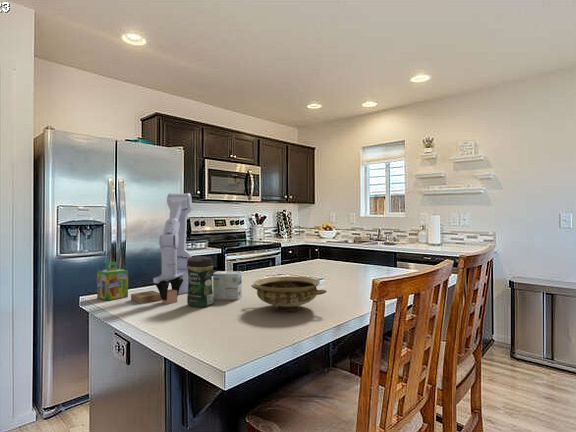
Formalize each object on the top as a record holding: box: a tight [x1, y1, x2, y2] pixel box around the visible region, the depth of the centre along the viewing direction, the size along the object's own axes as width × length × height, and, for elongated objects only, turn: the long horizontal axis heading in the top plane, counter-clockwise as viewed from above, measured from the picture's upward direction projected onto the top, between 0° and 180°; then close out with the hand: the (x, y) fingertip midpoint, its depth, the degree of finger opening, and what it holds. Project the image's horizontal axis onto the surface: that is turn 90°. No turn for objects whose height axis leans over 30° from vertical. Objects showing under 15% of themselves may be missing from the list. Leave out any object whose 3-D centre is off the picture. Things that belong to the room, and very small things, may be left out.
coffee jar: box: [186, 255, 214, 308], centre depth 139 cm, size 10×8×19 cm
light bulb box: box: [212, 270, 243, 301], centre depth 150 cm, size 11×7×11 cm, turn 84°
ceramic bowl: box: [251, 276, 327, 312], centre depth 132 cm, size 30×24×10 cm
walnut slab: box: [130, 290, 162, 305], centre depth 148 cm, size 9×9×3 cm
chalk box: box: [96, 261, 129, 301], centre depth 153 cm, size 9×9×15 cm
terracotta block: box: [161, 288, 178, 305], centre depth 144 cm, size 4×4×4 cm
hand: (169, 298), depth 144 cm, fingers closed on terracotta block, 5 cm apart
